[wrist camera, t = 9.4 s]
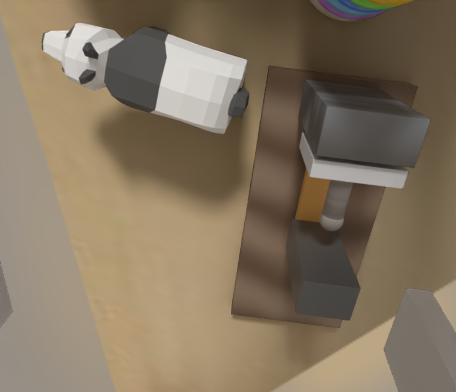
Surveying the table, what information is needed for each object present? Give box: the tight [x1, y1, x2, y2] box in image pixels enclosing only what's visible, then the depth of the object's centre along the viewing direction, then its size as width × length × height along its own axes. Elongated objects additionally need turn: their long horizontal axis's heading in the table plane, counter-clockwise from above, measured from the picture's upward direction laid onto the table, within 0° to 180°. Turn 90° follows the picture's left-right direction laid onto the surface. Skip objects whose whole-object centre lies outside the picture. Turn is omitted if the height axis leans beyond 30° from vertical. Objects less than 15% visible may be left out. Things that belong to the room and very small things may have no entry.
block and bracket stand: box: [286, 132, 409, 321], centre depth 31 cm, size 13×6×10 cm, turn 173°
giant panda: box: [42, 23, 249, 134], centre depth 28 cm, size 15×6×10 cm, turn 73°
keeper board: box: [231, 66, 431, 328], centre depth 33 cm, size 26×12×12 cm, turn 173°
